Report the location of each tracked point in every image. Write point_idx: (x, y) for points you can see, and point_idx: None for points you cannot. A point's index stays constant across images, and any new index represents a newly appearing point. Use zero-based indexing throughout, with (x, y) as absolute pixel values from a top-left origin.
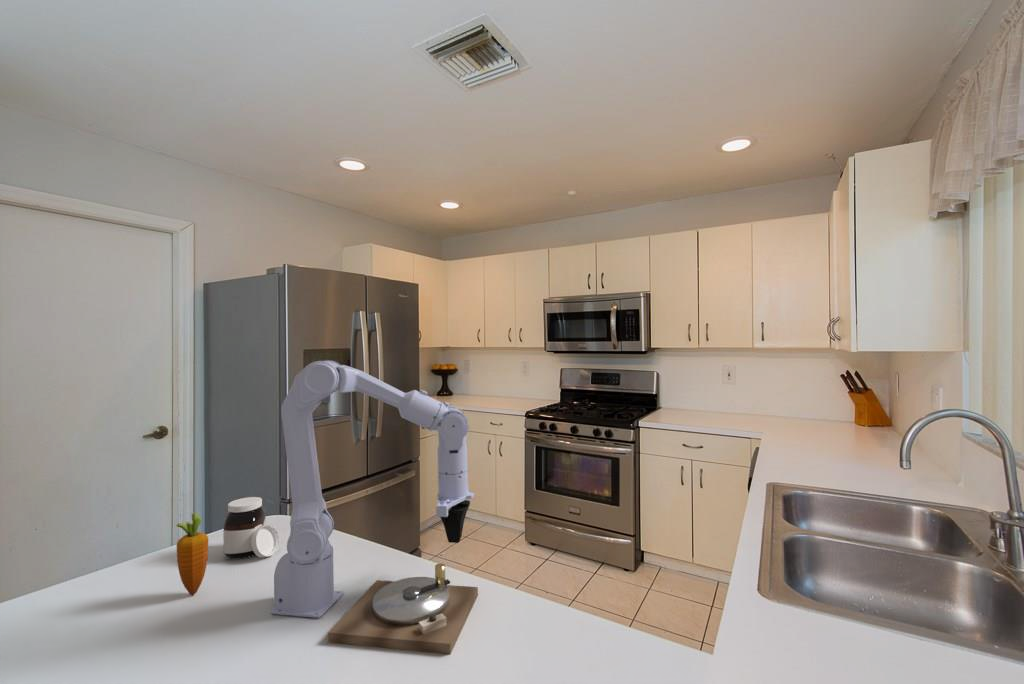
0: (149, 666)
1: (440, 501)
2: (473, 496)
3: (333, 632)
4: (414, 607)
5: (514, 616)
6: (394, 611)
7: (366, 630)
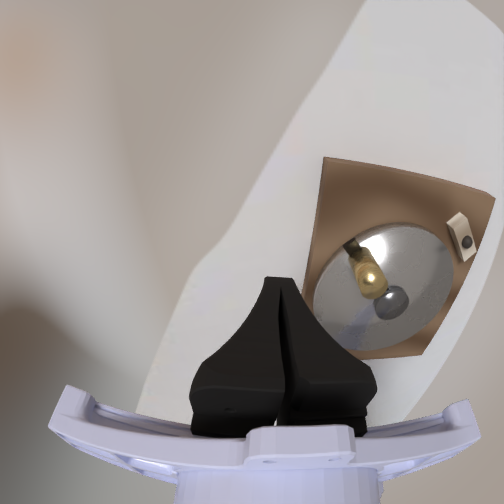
0: (398, 418)
1: (403, 473)
2: (306, 433)
3: (424, 350)
4: (431, 282)
5: (406, 69)
6: (431, 307)
7: (435, 321)
